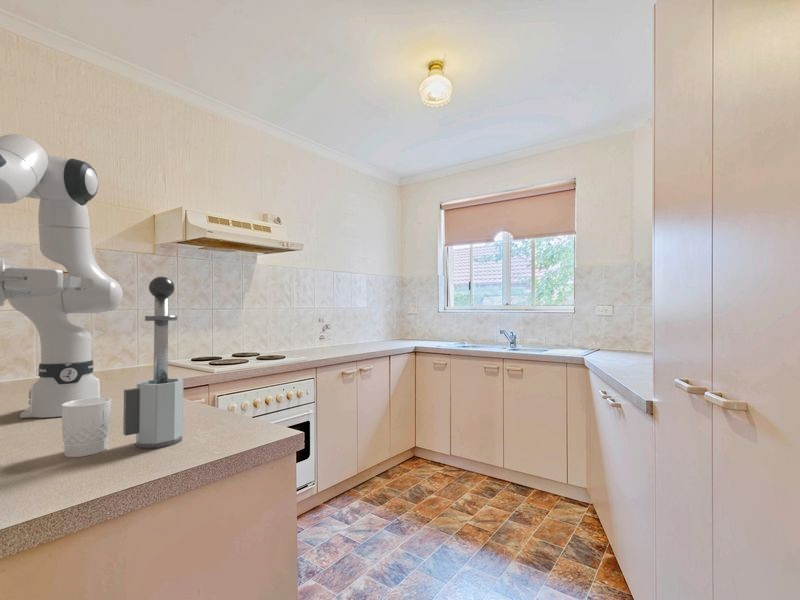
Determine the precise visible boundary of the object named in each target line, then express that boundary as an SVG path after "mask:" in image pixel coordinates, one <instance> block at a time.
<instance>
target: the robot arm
mask: <svg viewBox="0 0 800 600" xmlns="http://www.w3.org/2000/svg"><path fill="white" fill-rule="evenodd" d="M98 189H99V180H98V175H97V172H96V171H95V169H94V168H93V167H92V166H91V164H90V163H88V162H85V161H83V160H80V159H76V158H67V157H62V156H55V155H51V154H49V155H48V154H47V152H46V151H45V149H44V147H42V146H41V145H40V144H39V143H38V142H37V141H35V140H33V139H32V138H30V137H27V136H25V135H22V134H14V133H10V134H4V135H1V136H0V204H3V205H5V204H6V205H7V204H8V205H10V204H14V203H17V202H19V201H21V200H23V199H24V198H31V199H37V200H39V204H38V217H37V218H38V220H37V221H38V240H39V241H38V242H39V250H40V253H41V254H42V255H43V256H44V257H45V258H46V259H47V260H50V261H52V262H54V263H55V264H58V265H61V266H62V267H63V268H65V269H66V271H67V273H68V274H67V275H64V272H63V270H60V269H56V268H54V269H51V268H33V267H18V265H17V264H7V263H6V258H5V257H3V256H0V307H3V306H4V304H5V303H4V302H5V301H6V300H7V301H8V303H9V305H10V306H12V308H13V309H14V310H16V311H18V312H19V313H21V314H23V315H24V316H26V317H27V318H28V319H29V320H30V321H31V323H33V325H34V326H35V328H36V331H37V332H38V335H39V339H40V359H41V361H40V363H39V364H38V368H37V370H38V372H37V373H38V377H39V378H38V380H37V381H35V382H34V383H33V384H32V385H31V388H30V389H29V391H28V399H29V401H28V405H29V406H28V407H27V408H26V409H25V410H23V411H22V412H21V413H20V415H19V418H20V419H23V418H24V419H25V418H26V419H27V418H41V419H42V418H56V417H62V406H61V405H62V404H63V403H66V402H70V401H74V400H80V399H88V398H101V396H100V395H101V393H100V391H101V389H100V386H101V385H100V379H99V378H98V377H96V376H95V375H94V374H93V372H94V368H95V365H94V360H92V348H93V346H92V345H93V336H92V335H91V333H90V332H89V331H88V330H87V329H86V328H84V327H82V326H79V325H76V324H73V323H71V322H70V320H69V319H68V314H69V315H70V314H98V313H99V314H100V313H106V312H112V311H115V310H116V309H117V308H119V306H120V305H121V303H122V301H123V297H124V293H123V289H122V286H121V285H120V283H119V282H118V281H116V279H114V278H112V277H111V276H109V275H108V274H106V272H104V270H103V269H102V268H101V267H100V266H99V264H98V263H97V261H96V258H95V256H94V252H93V248H92V238H91V223H90V215H89V214H90V213H89V209H88V205H87V203H88V202H89V201H91V200H92V199H94V198H95V196H96V194H97V193H98Z"/></svg>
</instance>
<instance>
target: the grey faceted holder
mask: <svg viewBox="0 0 800 600" xmlns="http://www.w3.org/2000/svg"><path fill="white" fill-rule="evenodd" d="M122 426H123V428H122V429H123V432H122V435H124V437H125V436H130V435H131V436H132V435H135V441H136V443H135V444H136V445H135V446H137V448H139V449H141V448H142V449H141V450H151V449H160V448H166V447H169V446H173V445H176V444H178V443H180V442H181V441H183V434H184V379H182V378H179V377H178V378H174V377H172V378H168V383H164V384H154V379H149V380H146V379H145V380H143V381H139V382H137V383H136V388H128V389H123V424H122Z"/></svg>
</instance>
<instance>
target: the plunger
mask: <svg viewBox="0 0 800 600" xmlns="http://www.w3.org/2000/svg"><path fill="white" fill-rule="evenodd" d="M148 291H149V293H150V294H151V296H152V297H154V315H145V316H144V321H145V322H153V321H154V323H153V325H154V327H153V329H154V330H153V331H154V332H153V334H154V335H153V380H154V384H164V383H168V377H169V375H168V372H169V369H168V368H169V367H168V365H169V321H170V322H173V321H178V315H169V303H170V301H169V299H170V298H169V297H171V296H172V295H173V294H174V293H175V292H174V291H175V284H174V282H173V280H171V279H170V278H168V277H167V276H156V277H155V278H153V279H151V280H150V282H149V284H148Z"/></svg>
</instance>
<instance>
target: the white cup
mask: <svg viewBox="0 0 800 600" xmlns="http://www.w3.org/2000/svg"><path fill="white" fill-rule="evenodd" d="M61 406H62V416H61V422H62V423H61V424H62V426H61V428H62V437H63V438H62V442H63V446H64V447H63V449H64V451H63V452H64V457H66V458H79V457H80V458H81V457H88V456H92V455H95V454H99V453H101V452H104V451H105V450H107V448H108V438H109V437H108V436H109V435H110V434H109V433H110V423H111V407H112V398H111V397H100V398H88V399H80V400H74V401H70V402H66V403H63V404H62V405H61Z"/></svg>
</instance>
